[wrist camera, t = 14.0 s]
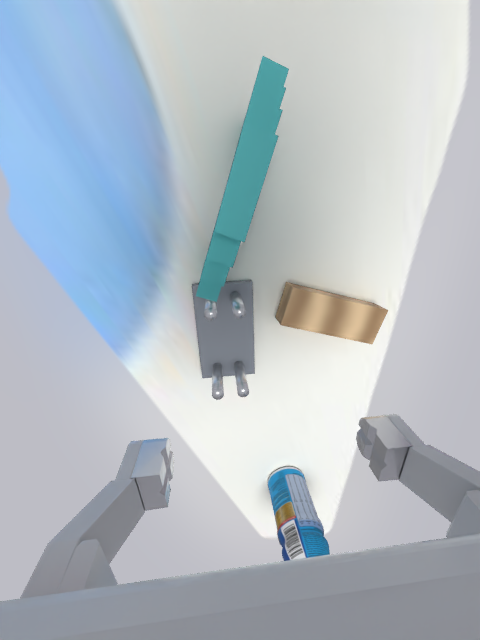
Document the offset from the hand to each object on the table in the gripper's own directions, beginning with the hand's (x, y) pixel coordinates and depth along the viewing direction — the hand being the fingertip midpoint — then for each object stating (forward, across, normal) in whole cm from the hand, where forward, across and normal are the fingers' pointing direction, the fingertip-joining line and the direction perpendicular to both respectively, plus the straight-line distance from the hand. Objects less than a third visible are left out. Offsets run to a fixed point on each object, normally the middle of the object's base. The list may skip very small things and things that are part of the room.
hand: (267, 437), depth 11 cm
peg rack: (+30, +1, +9) cm, 31 cm away
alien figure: (+31, 0, -10) cm, 32 cm away
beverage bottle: (+29, -10, +46) cm, 55 cm away
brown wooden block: (+30, -16, +7) cm, 35 cm away
